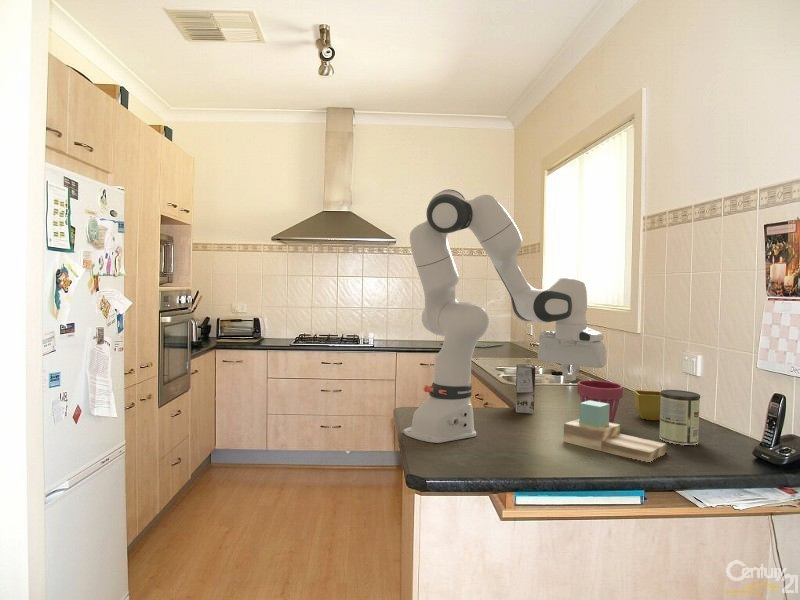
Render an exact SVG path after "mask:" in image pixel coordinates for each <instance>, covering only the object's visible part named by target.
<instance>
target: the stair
mask: <svg viewBox="0 0 800 600" xmlns="http://www.w3.org/2000/svg"><path fill="white" fill-rule="evenodd" d="M563 442H564V443H568V444H571V445H575V446H578V447H584V448H587V449H591V450H596V451H600V452H604V453H608V454H611V455H616V456H619V457H623V458H628V459H631V458H632V459H631V460H635V459H637V461H639V460H641V461H640V462H643V461H646V462H645V463H647V462H650V463H652V462H654V461H655V460H657V459H659V458H661V457H662V456H664V455H666V454H667V444H668V443H666V442H665V443H664V442H659V441H656V440H652V439H645V438H641V437H637V436H633V435H628V434H624V433H621V424H619V423H614V422H613V423H610V422H609V425H607V426H605V427H602V428H595V427H591V426H586V425H581V424H579V418H576V419H574V420H570V421H567V422H565V423H563ZM665 453H666V454H665ZM660 456H661V457H660ZM658 457H659V458H658ZM656 458H657V459H656ZM654 459H655V460H654ZM653 460H654V461H653ZM651 461H652V462H651Z"/></svg>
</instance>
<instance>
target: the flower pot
mask: <svg viewBox="0 0 800 600" xmlns="http://www.w3.org/2000/svg"><path fill="white" fill-rule="evenodd" d="M660 391H661V390H659V391H658V390H641V389H640V390H639V389H638V390H637V389H633V397H634V406H635V409H636V412H637V414H638V416H639V417H640V418H641V420H644V419H646V420H649V421H660V405H661V394H660ZM646 420H645V421H646Z"/></svg>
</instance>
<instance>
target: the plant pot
mask: <svg viewBox="0 0 800 600" xmlns="http://www.w3.org/2000/svg"><path fill="white" fill-rule="evenodd" d="M576 387H577V388H576V393H577V394H578V395H579V399H580V403H582V402H585V401H589V400H591V401H596V402H602V403H607V404H610V409H609V422H610V423H614V422H615V418H616V415H617V411H618V408H619V403H620V399H623V396H624V394H623V392H624V386H623V385H622V384H619V383H617V382H611V381H605V380H598V379H597V380H593V379H587V380H585V379H583V380H579V381H578V382H577V386H576Z"/></svg>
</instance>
